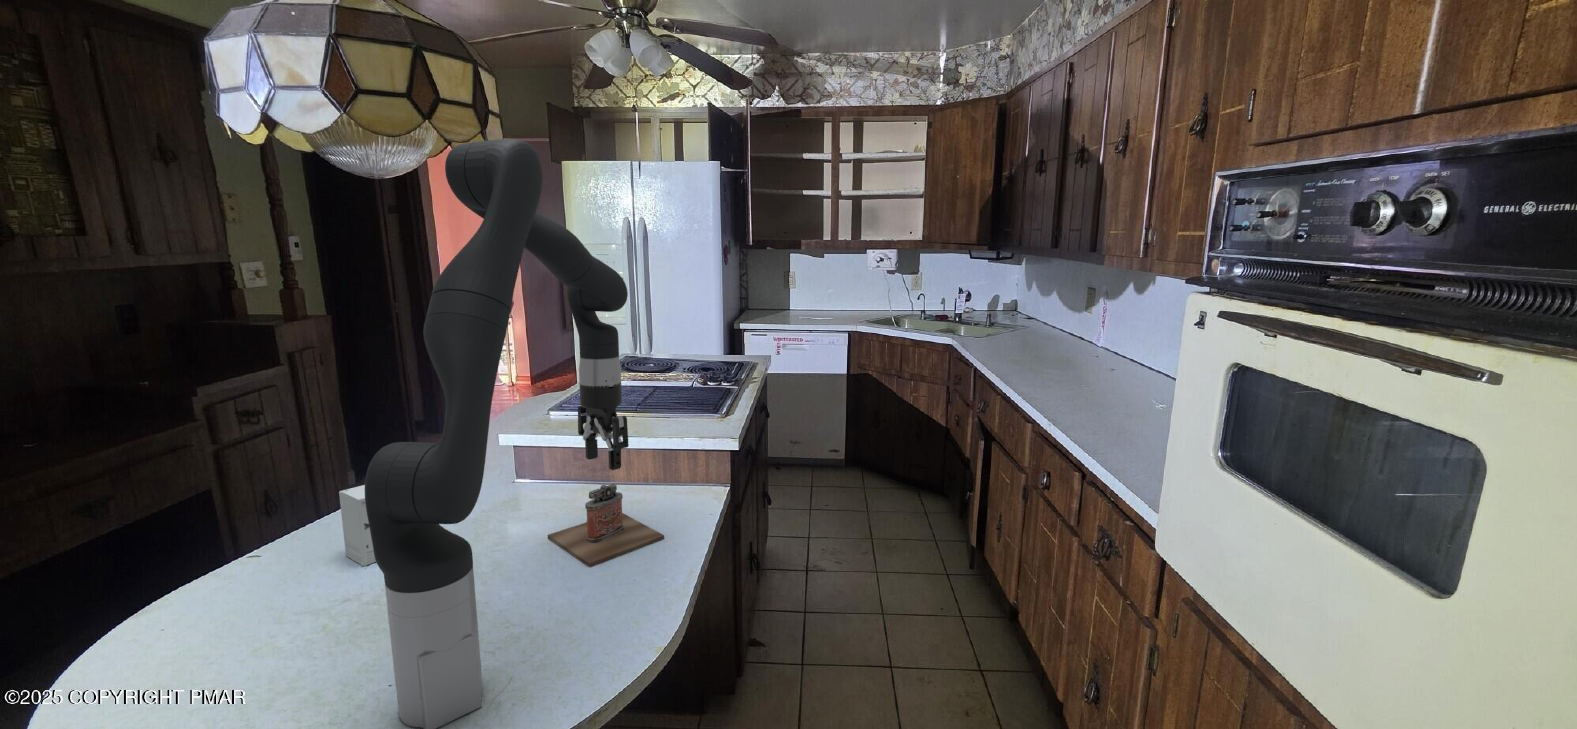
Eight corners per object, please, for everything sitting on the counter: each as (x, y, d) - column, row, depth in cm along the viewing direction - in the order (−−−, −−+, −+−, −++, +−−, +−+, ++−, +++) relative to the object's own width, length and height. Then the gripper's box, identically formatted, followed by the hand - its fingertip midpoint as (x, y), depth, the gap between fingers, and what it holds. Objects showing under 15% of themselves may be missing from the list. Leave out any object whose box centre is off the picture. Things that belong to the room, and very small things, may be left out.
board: (664, 539, 123) (664, 535, 123) (589, 567, 112) (589, 563, 112) (620, 515, 134) (619, 511, 134) (547, 538, 123) (547, 534, 123)
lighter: (616, 526, 127) (614, 478, 125) (627, 530, 125) (626, 482, 123) (582, 540, 121) (580, 490, 119) (594, 545, 119) (592, 494, 117)
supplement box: (363, 567, 111) (356, 499, 109) (345, 556, 115) (337, 490, 113) (407, 551, 117) (401, 487, 115) (388, 541, 121) (382, 478, 119)
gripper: (563, 377, 120) (566, 459, 122) (602, 388, 110) (605, 477, 113) (598, 373, 125) (601, 451, 128) (639, 383, 116) (641, 468, 118)
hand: (603, 463), depth 120 cm, fingers open, 8 cm apart
